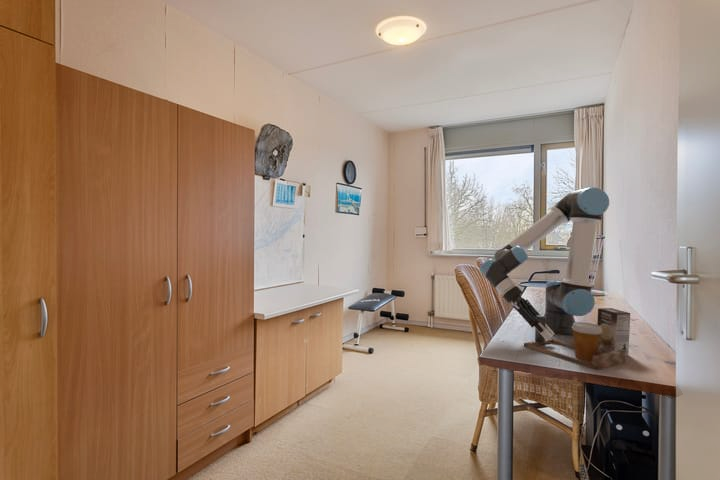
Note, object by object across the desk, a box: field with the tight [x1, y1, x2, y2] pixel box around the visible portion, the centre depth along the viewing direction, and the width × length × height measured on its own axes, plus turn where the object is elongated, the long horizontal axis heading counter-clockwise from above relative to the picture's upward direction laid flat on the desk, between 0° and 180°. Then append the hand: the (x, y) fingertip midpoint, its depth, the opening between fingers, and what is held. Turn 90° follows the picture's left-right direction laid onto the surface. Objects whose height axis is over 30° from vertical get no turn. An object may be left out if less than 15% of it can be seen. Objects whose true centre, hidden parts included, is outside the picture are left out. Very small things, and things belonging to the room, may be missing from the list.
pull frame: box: [523, 314, 627, 370], centre depth 140 cm, size 17×29×11 cm, turn 28°
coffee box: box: [596, 307, 631, 356], centre depth 143 cm, size 9×6×16 cm
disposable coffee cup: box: [572, 321, 602, 362], centre depth 134 cm, size 10×10×12 cm
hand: (550, 337), depth 148 cm, fingers closed on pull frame, 4 cm apart
